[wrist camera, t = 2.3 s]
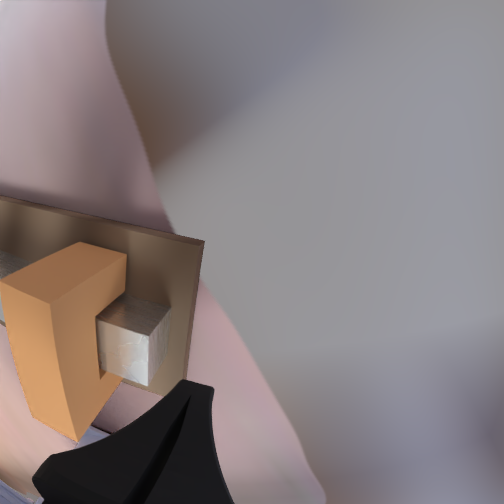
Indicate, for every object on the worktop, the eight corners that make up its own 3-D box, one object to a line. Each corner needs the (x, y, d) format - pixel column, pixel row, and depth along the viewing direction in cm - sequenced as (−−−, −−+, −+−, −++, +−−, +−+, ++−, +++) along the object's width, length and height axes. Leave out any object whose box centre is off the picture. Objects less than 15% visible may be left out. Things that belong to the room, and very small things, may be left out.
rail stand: (204, 240, 15) (177, 267, 11) (184, 391, 18) (165, 435, 14) (-55, 183, 17) (-87, 190, 13) (-48, 284, 19) (-75, 298, 16)
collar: (126, 254, 14) (50, 303, 9) (125, 375, 17) (78, 442, 11) (79, 241, 15) (-2, 280, 9) (84, 359, 17) (32, 417, 11)
